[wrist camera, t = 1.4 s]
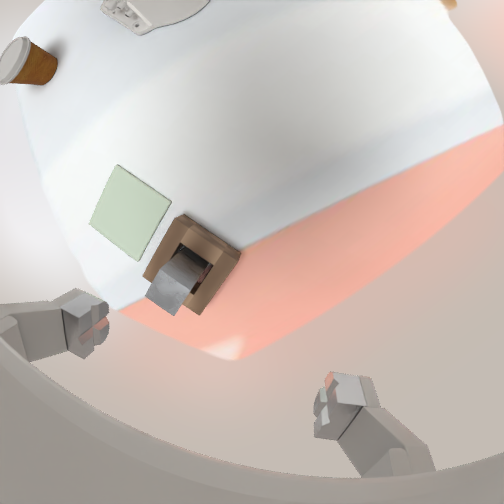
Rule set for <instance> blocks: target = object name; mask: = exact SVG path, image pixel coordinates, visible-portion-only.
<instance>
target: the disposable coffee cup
mask: <svg viewBox="0 0 504 504" xmlns="http://www.w3.org/2000/svg"><path fill="white" fill-rule="evenodd" d="M57 64H58V61H57V59H56V58H55V57H53V56H52V55H50V54H49V53H47V52H46V51H44V50H43V49H41V48H40V47H38V46H37V45H35V44H34V43H32V42H30V40H29V38H28V37H18V38H16V39H14V40H13V41H12V42H11V43H10V44H9V45H8V46H7V48H6V49H5V50H4V52H3V53H2V56H1V57H0V84H1V85H5V84H8V83H18V84H34V85H44V84H46V83H47V82H48V81H49V80H50V79H51V78H52V77H53V75H54V73H55V71H56V69H57Z"/></svg>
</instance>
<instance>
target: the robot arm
mask: <svg viewBox="0 0 504 504" xmlns="http://www.w3.org/2000/svg"><path fill="white" fill-rule="evenodd" d="M208 2H209V0H104V1H103V3H102V6H101V9H100V10H101V11H102V12H103V13H104V14H106V15H108V16H109V17H111V18H112V19H114V20H116V21H117V22H119V23H120V24H122V25H123V26H125V27H126V28H128V29H129V30H131V31H132V32H134V33H135V34H137V35H143V34H145V33H147V32H149V31H151V30H153V29H155V28H157V27H161V26H165V25H170V24H174V23H177V22H179V21H182V20H184V19H186V18H188V17H190V16H192V15H194V14H195V13H197V12H198V11H199V10H201V9H202V8H203V7H204V6H205V5H206V4H207V3H208ZM137 26H138V27H137ZM108 313H109V305H108V304H107V302H105V301H103V300H101V299H99V298H97V297H95V296H93V295H91V294H89V293H86V292H85V291H83V290H80V289H77V288H75V289H73V290H71V291H69V292H67V293H65V294H64V295H62V296H60V297H58V298H56V299H55V300H53V301H51V302H49V301H39V302H26V303H12V304H0V504H504V453H500V454H497V455H494V456H492V457H488V458H485V459H482V460H479V461H476V462H472V463H468V464H465V465H461V466H457V467H452V468H448V469H443V470H438V471H436V470H435V466H434V463H433V461H432V457H431V455H430V452H429V449H428V446H427V445H426V444H425V443H424V442H422V441H421V440H420V439H419V438H418V437H417V436H416V435H414V434H413V433H412V432H411V431H410V430H409V429H408V428H406V427H405V426H404V425H403V424H402V423H401V422H400V421H399V420H397V419H396V418H395V417H394V416H393V415H392V414H391V413H389V412H388V411H387V410H386V409H385V408H381V406H380V403H379V400H378V396H377V393H376V390H375V387H374V384H373V381H372V379H371V378H370V377H365V376H354V375H348V374H342V373H336V372H329V374H328V375H327V377H326V378H325V387H323V388H321V389H320V390H319V392H318V394H317V396H316V399H315V402H314V415H315V416H316V417H317V419H316V421H315V422H314V437H316V438H323V439H329V440H337V441H338V443H339V445H340V446H341V448H342V449H343V451H344V452H345V454H346V455H347V457H348V458H349V460H350V461H351V462H352V464H353V465H354V467H355V468H356V470H357V471H358V472H359V474H360V475H361V478H332V477H316V476H305V475H296V474H288V473H281V472H275V471H269V470H263V469H257V468H253V467H248V466H244V465H239V464H235V463H231V462H227V461H223V460H220V459H216V458H212V457H209V456H206V455H203V454H199V453H196V452H193V451H190V450H187V449H184V448H182V447H179V446H176V445H174V444H171V443H168V442H166V441H163V440H161V439H158V438H156V437H153V436H151V435H149V434H146V433H144V432H142V431H139V430H138V429H136V428H133V427H131V426H129V425H127V424H125V423H123V422H121V421H119V420H117V419H115V418H113V417H111V416H110V415H108V414H106V413H104V412H102V411H101V410H99V409H97V408H95V407H94V406H92V405H90V404H88V403H87V402H85V401H83V400H82V399H80V398H79V397H77V396H76V395H74V394H72V393H71V392H69V391H68V390H66V389H65V388H63V387H62V386H60V385H59V384H58V383H56V382H55V381H53V380H52V379H51V378H49V377H48V376H47V375H45V374H44V373H43V372H41V371H40V370H39V369H37V368H36V367H35V366H33V365H32V364H31V363H30V362H32V361H35V360H39V359H42V358H46V357H49V356H52V355H56V354H59V353H63V352H66V351H67V350H68V351H70V352H72V353H74V354H75V355H77V356H79V357H81V358H83V359H85V358H86V357H87V356H88V355H89V354H90V353H92V352H93V351H94V346H95V345H100V344H101V343H103V342H104V341H105V339H106V337H107V335H108V333H109V321H108V319H107V318H106V316H107V314H108Z"/></svg>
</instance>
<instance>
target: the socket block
mask: <svg viewBox="0 0 504 504" xmlns="http://www.w3.org/2000/svg"><path fill="white" fill-rule="evenodd" d="M183 245H185V246H186V247H188V248H189V249H191V250H192V251H193V252H195V253H196V254H198V255H199V256H201V257H202V258H204V259H205V260H207V261H208V262H210V263H211V264H213V267H212V268H211V269H210V271H209V272H208V274H207V275H206V277H205V278H204V280H203V281H202V283H201V284H199V283H198V282H196V284H195V285H194V287H193V288H192V290H191V291H190V293H189V294H188V296H187V297H186V299H185V300H184V302H183V303H182V304H183V305H184V306H186V307H187V308H189V309H190V310H192V311H193V312H195V313H196V314H198V315H199V316H200V314H201V313H202V312H203V310H204V309H205V307H206V306H207V305H208V303H209V302H210V300H211V299H212V297H213V296H214V295H215V293H216V292H217V290H218V289H219V288H220V286H221V285H222V283H223V282H224V281H225V279H226V278H227V276H228V275H229V274H230V272H231V271H232V269H233V268H234V267H235V265H236V264H237V262H238V260H239V258H240V255H241V253H240V252H238V251H237V250H236V249H234V248H233V247H231V246H230V245H228V244H227V243H225V242H224V241H222V240H221V239H219V238H218V237H216V236H215V235H214V234H212V233H211V232H209V231H208V230H206V229H205V228H203V227H202V226H200V225H199V224H197V223H196V222H195V221H193V220H192V219H190V218H189V217H187V216H186V215H184V214H183V215H181V216H178V217H176V218H175V219H174V220H173V222H172V224H171V225H170V227H169V229H168V230H167V232H166V234H165V236H164V237H163V239H162V241H161V243H160V245H159V246H158V248H157V250H156V252H155V254H154V255H153V257H152V259H151V261H150V263H149V265H148V267H147V268H146V270H145V272H144V274H143V277H144V278H145V279H147V280H148V281H150V282H151V283H152V282H153V280H154V278H155V277H156V275H157V273H158V271H159V269H160V268H161V267H163V266H164V265H165V264H166V263H167V262H168V261H169V260H170V259H172V258H173V257H174V256H175V255H176V254H177V253H178V252H179V251H180V249H181V247H182V246H183Z"/></svg>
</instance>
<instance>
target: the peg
mask: <svg viewBox="0 0 504 504" xmlns="http://www.w3.org/2000/svg"><path fill="white" fill-rule="evenodd" d="M208 264H209V262H208V261H207V260H205V259H204V258H202V257H201V256H199V255H198V254H196V253H195V252H193V251H192V250H191V249H189V248H188V247H186V246H185V247H184V248H183V249H182V250H181V251H180V252H178V253H177V254H176V255H175V256H174V257H173V258H172V259H170V260H169V261H168V262H167V263H166V264H165V265H164V266H163V267H161V268H160V269H159V271H158V273H157V275H156V277H155V278H154V280H153V282H152V284H151V286H150V287H149V289H148V291H147V293H146V295H145V296H146V297H147V298H148V299H150V300H151V301H153V302H154V303H155V304H157V305H158V306H160V307H161V308H163V309H164V310H166V311H167V312H168V313H170V314H171V315H173V316H174V315H175V314H176V312H177V311H178V309H179V308H180V306H181V305H182V303H183V302H184V300H185V299H186V297H187V296H188V294H189V293H190V291H191V290H192V288H193V287H194V285H195V284H196V282H197V281H198V279H199V278H200V276H201V274H202V273H203V271H204V270H205V268H206V267H207V265H208Z"/></svg>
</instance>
